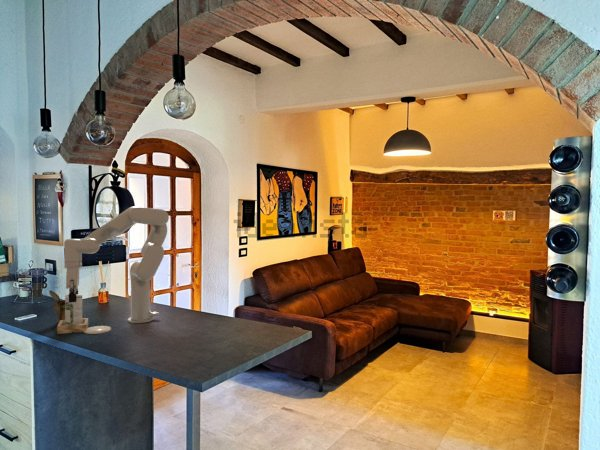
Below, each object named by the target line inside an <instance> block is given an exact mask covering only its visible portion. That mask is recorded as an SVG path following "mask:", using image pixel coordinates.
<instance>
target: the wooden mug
mask: <svg viewBox="0 0 600 450" xmlns="http://www.w3.org/2000/svg"><path fill="white" fill-rule="evenodd" d="M49 295H50V296H51V297H52V299H54V300H55V302H54V312H55V313H56V314H57V316H58V317H57V322H56V324H57V325H58V324H59V322H60V320H65V299H64V300H63V299H62V300H61V298H60V296H59V295H58V293H56V292H55V291H53V290H49Z"/></svg>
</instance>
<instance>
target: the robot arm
mask: <svg viewBox="0 0 600 450" xmlns="http://www.w3.org/2000/svg"><path fill="white" fill-rule="evenodd" d="M169 219H170V215H169V213H168V212H167V211H166V210H164V209H161V208H154V207H153V208H152V207H143V206H139V205H138V206H130V207H128V208H127V209H125V210H124V211H122V212H121V213H120V214H118V215H117V216H115V217H113V218H112V219H111V220H109V221H108V222H106V223H105V224H103V225H102V226H100V227H98V228H97V229H95V230H94V231H91V232H90V233H89V234H88V235H87V236H85V237H84V238H82V239H79V238H67V239H65V240H63V241H64V242H63V250H64V252H63V255H64V258H63V259H64V264H63V265H64V269H66V275H65V276H66V278H65V289H66V290H68V295H69V302H76V294H78V295H79V288H78V287H79V285H80V268H83V259H82V258H83V255H82V254H86V255H88V254H91V255H92V254H96V253H97V252H98V251H99V250H100V248H101V245H102V244H104V242H106V241H108V240H111V239H113V238H116V237H119V236H121V235H122V234H123V233H125V232H126V231H127V230H129V229H130V228H132V227H133V226H135V225H136V224H142V225H149V226H150V231H149V234H148V236H147V238H146V240H145V241H144V243H143V245H142V247H141V250H140V253H141V256H142V258H141V260H136V261H134V262H132V264H131V265H130V268H129V276H130V277H129V278H130V317H128V318H127V322H128V323H130V324H145V323H149V322H152V321H153V320H154V317H159V316H160V312H157V311H153V312H152V311H151V282H150V281H151V280H152V279H153V277H155V275H156V273H157V271H158V269H159V267H160V265H161V263H162V262H163V259H164V255H165V248H164V247H163V244H164V242H165V240H166V237H167V234H168V226H167V223H168V222H169Z"/></svg>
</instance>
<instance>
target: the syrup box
mask: <svg viewBox="0 0 600 450" xmlns="http://www.w3.org/2000/svg"><path fill="white" fill-rule="evenodd" d="M64 300H65V325H75V324H82V318H83V294H79V293H78V294H76V302H69V294H66V295H65V296H64Z"/></svg>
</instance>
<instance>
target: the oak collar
mask: <svg viewBox="0 0 600 450" xmlns="http://www.w3.org/2000/svg"><path fill="white" fill-rule="evenodd" d="M87 328H89V317H87V318H86V317H84V318H83V317H82V324H75V325H65V320H60V322H59V324H58V323H57V326H56V334H57V335H59V334H70V333H71V334H72V332H74V333H84V330H87Z"/></svg>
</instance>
